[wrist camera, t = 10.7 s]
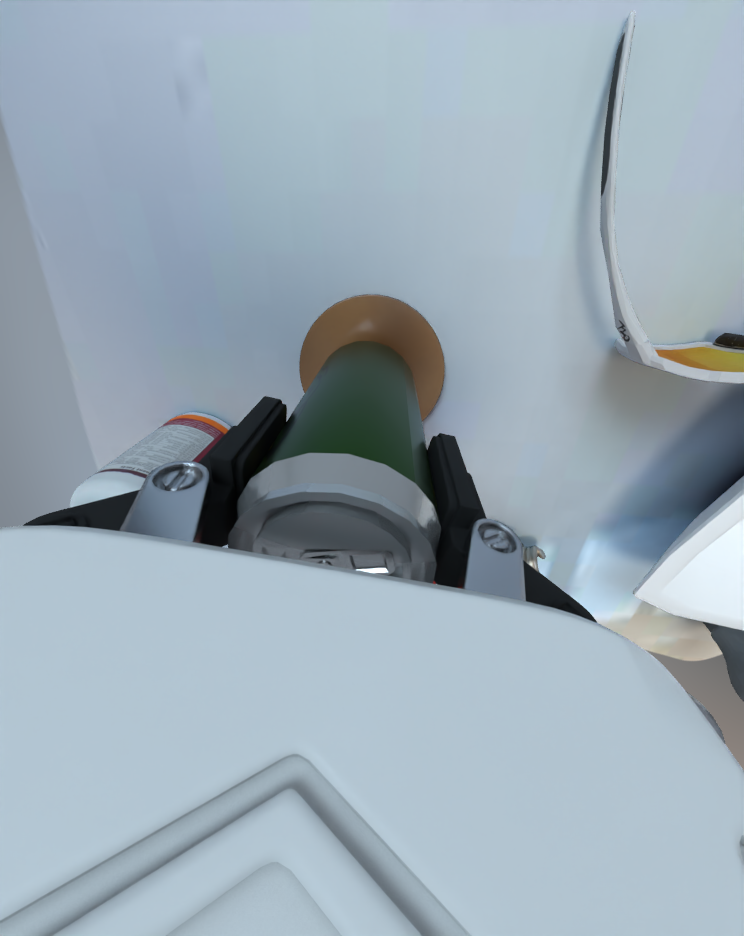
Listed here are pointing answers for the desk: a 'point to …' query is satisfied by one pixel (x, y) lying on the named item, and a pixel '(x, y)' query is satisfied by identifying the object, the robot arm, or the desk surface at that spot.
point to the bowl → (704, 566)
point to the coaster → (378, 341)
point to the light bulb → (731, 653)
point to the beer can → (348, 474)
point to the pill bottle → (153, 456)
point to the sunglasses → (695, 360)
